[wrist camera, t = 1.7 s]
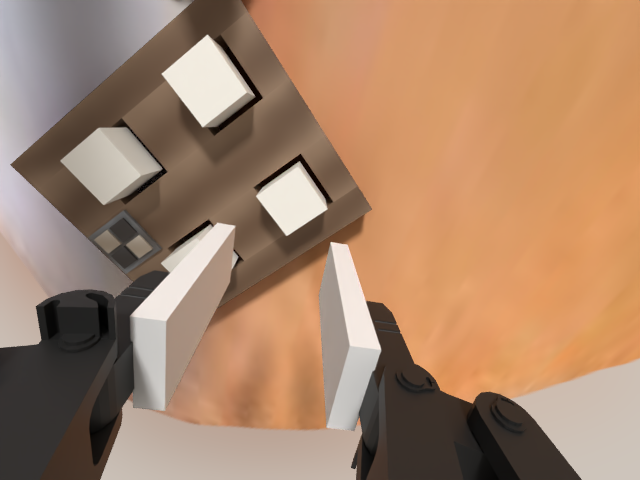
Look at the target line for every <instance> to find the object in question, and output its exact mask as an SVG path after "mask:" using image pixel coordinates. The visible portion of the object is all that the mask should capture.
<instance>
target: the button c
mask: <svg viewBox="0 0 640 480" xmlns="http://www.w3.org/2000/svg"><path fill="white" fill-rule="evenodd" d="M162 75H163V76H164V78H165V79H166V80H167V82H168V83H169V84H170V85H171V87H172V88H173V89H174V91H175V92H176V93H177V95H178V96H179V97H180V98H181V100H182V101H183V102H184V104H185V105H186V106H187V107H188V109H189V110H190V111H191V113H192V114H193V115H194V117H195V118H196V119H197V120H198V122H199V123H200V124H201V126H202V127H218V126H219V125H220V124H221V123H223V122H224V121H225V120H227V119H228V118H229V117H230V116H232V115H233V114H234V113H236V112H237V111H238V110H239V109H241V108H242V107H243V106H245V105H246V104H247V103H248V102H250V101H251V100H252V99H254V98H255V97H256V96H255V95H254V94H253V92H252V91H251V89H250V88H249V86H248V85H247V83H246V82H245V80H244V79H243V77H242V76H241V75H240V73H239V72H238V70H237V69H236V67H235V66H234V64H233V63H232V61H231V60H230V58H229V57H228V55H227V54H226V53H225V51H224V50H223V48H222V47H221V46H220V45H219V44H217V43H216V42H215V41H214V40H213V39H212V38H211V37H210V36H208V35H206V36H205V37H204V38H203V39H202V40H201V41H199V42H198V43H197V44H196V45H195V46H194V47H192V48H191V49H190V50H189V51H188V52H187V53H185V54H184V55H183V56H182V57H181V58H180V59H178V60H177V61H176V62H175V63H174V64H173V65H171V66H170V67H169V68H168V69H167V70H166V71H164V72H163V73H162Z"/></svg>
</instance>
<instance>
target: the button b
mask: <svg viewBox="0 0 640 480" xmlns="http://www.w3.org/2000/svg"><path fill="white" fill-rule="evenodd" d="M212 228H213V226H212V225H211V224H210V225H209V226H207V227H206V228H204V229H203V230H202V231H200V232H199V233H197V234H196V235H194V236H193V237H192V238H190V239H189V240H187V241H186V242H185V243H183V244H182V245H180V246H179V247H178V248H177V249H175V250H174V251H173V252H172V253H171V254H170V255H169V256H168V257H167V258H166V259H165V260H164V261H163V262H162V263H161V264H162V265H163V266H164V267H165V268H166V269H167V270H168V271H169V272H170V273H171V272H172V271H173V270H174V269H175V267H176V266H177V265H178V264H179V263H180V262H181V261H182V260H183V259H184V258H185V257H186V256H187V255H188V254H189V253H190V251H191V250H192V249H193V248H194V247H195V246H196V245H197V244H198V243H199V242H200V241H201V240H202V239H203V238H204V237H205V235H206V234H207V233H208V232H209V231H210V230H211V229H212ZM237 259H238V255H237V254H236V253H235V252H234V251H233V257H232V267H231V270H232V268H233V266H234V265H235V263H236V261H237Z"/></svg>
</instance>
